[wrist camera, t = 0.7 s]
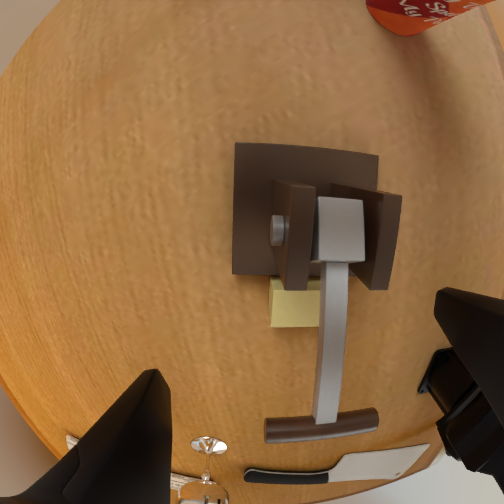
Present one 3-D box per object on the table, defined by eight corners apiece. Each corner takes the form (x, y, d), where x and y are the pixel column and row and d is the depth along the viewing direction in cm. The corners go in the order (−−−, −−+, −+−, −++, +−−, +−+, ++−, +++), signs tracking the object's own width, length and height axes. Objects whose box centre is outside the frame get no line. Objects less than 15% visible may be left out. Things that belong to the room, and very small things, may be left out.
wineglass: (234, 456, 28) (233, 534, 17) (191, 455, 28) (180, 530, 17) (229, 434, 27) (226, 523, 15) (180, 432, 27) (165, 518, 15)
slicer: (360, 270, 21) (416, 327, 13) (232, 268, 21) (224, 335, 12) (371, 155, 18) (446, 154, 10) (235, 143, 18) (227, 123, 10)
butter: (321, 310, 22) (329, 326, 20) (267, 310, 22) (270, 327, 19) (326, 276, 21) (335, 289, 19) (270, 275, 21) (273, 289, 19)
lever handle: (363, 420, 13) (380, 439, 11) (262, 430, 13) (266, 453, 11) (376, 213, 14) (397, 203, 12) (269, 207, 14) (274, 193, 12)
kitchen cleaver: (432, 446, 30) (400, 480, 32) (428, 440, 32) (397, 474, 33) (262, 452, 27) (238, 487, 28) (261, 442, 28) (238, 478, 30)
